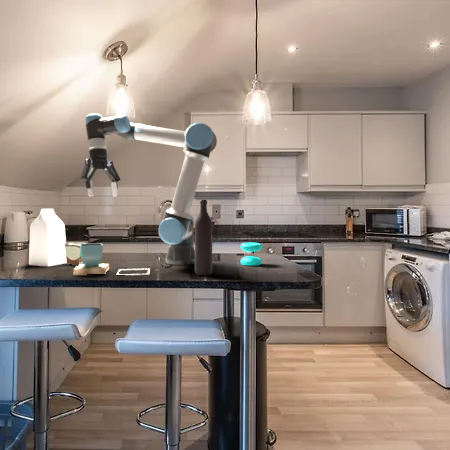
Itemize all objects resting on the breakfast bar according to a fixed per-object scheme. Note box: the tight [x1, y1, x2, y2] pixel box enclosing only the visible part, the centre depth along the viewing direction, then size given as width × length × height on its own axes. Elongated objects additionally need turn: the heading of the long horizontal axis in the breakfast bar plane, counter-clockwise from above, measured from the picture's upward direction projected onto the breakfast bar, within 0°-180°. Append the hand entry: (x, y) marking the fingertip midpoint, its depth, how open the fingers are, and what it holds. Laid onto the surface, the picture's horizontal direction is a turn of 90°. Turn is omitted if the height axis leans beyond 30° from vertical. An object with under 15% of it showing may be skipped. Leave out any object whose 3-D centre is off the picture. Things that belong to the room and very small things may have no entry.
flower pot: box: [80, 242, 104, 267], centre depth 157 cm, size 9×9×9 cm
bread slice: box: [73, 263, 110, 276], centre depth 158 cm, size 12×12×3 cm
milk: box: [28, 208, 67, 267], centre depth 179 cm, size 12×12×26 cm
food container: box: [64, 241, 86, 266], centre depth 179 cm, size 12×6×10 cm, turn 58°
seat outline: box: [115, 268, 151, 276], centre depth 158 cm, size 13×13×1 cm
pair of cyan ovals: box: [240, 242, 263, 267], centre depth 179 cm, size 10×10×10 cm
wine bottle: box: [194, 199, 213, 276], centre depth 154 cm, size 7×7×30 cm
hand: (103, 196), depth 172 cm, fingers open, 13 cm apart
